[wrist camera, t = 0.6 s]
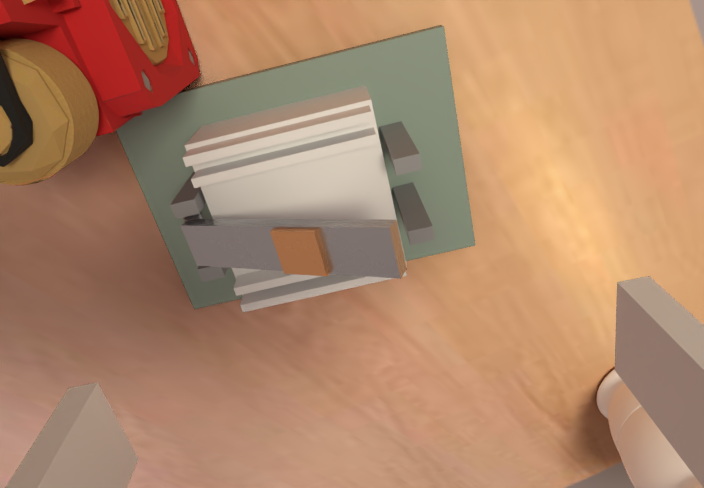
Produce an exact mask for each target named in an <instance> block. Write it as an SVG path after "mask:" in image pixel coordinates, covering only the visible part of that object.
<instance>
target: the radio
mask: <svg viewBox="0 0 704 488" xmlns="http://www.w3.org/2000/svg"><path fill="white" fill-rule="evenodd" d="M199 76H200V73H199V66H198V58H197V56H196V53H195V50H194V48H193V45H192V42H191V40H190V37H189V34H188V31H187V29H186V26H185V23H184V21H183V18H182V15H181V13H180V10H179V7H178V4H177V2H176V0H0V183H3V184H8V185H28V184H34V183H38V182H41V181H43V180H46V179H48V178H50V177H51V176H53V175H55V174H56V173H57V172H59V171H60V170H61V169H63V168H64V167H66V166H67V165H69V164H70V163H71V162H73V161H74V160H76V159H77V158H78V157H80V156H81V155H82V154H84V153H85V152H86V151H87V150H88V148H89V147H90V146H91V144H92V142H93V141H94V139H95V137H96V136H100V135H104V134H107V133H111V132H114V131H116V130H117V129H118V128H120V127H121V126H123V125H124V124H125V123H127V122H128V121H130V120H131V119H132V118H134V117H135V116H141V115H142V114H143V113H144V112H143V113H141V112H142V111H145V110H149V109H152V108H156V107H159V106H162V105H163V104H165V103H166V102H167V101H169V100H170V99H171V98H172V97H174V96H175V95H176V94H177V93H179V92H180V91H181V90H183V89H184V88H185V87H186V86H188V85H189V84H190V83H192V82H193V81H194V80H195V79H197V78H198V77H199Z"/></svg>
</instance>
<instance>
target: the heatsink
mask: <svg viewBox="0 0 704 488" xmlns="http://www.w3.org/2000/svg"><path fill="white" fill-rule="evenodd" d="M143 112H144V113H143ZM141 113H143V114H142V115H141V116H135V117H134V118H132V119H131V120H130V121H128V122H127V123H125V124H124V125H123V126H121V127H120V128H118V129H117V130H116V132H117V135H118V137H119V139H120V141H121V144H122V146H123V148H124V150H125V153H126V155H127V157H128V160H129V162H130V164H131V166H132V169H133V171H134V173H135V175H136V178H137V180H138V182H139V185H140V187H141V189H142V191H143V194H144V196H145V198H146V201H147V203H148V205H149V207H150V210H151V212H152V214H153V216H154V219H155V221H156V223H157V226H158V228H159V230H160V232H161V235H162V237H163V239H164V241H165V244H166V246H167V248H168V251H169V253H170V255H171V257H172V260H173V262H174V264H175V266H176V269H177V271H178V273H179V276H180V278H181V280H182V282H183V285H184V287H185V289H186V291H187V294H188V296H189V298H190V301H191V303H192V305H193V307H194V309H198V308H202V307H207V306H211V305H215V304H220V303H224V302H229V301H233V300H237V299H242V300H241V304H240V306H241V309H242V311H243V312H247V311H252V310H256V309H261V308H265V307H270V306H274V305H278V304H283V303H287V302H292V301H296V300H301V299H305V298H309V297H314V296H318V295H323V294H327V293H332V292H336V291H340V290H345V289H349V288H354V287H358V286H363V285H367V284H371V283H376V282H380V281H385V280H389V279H394V278H385V277H369V276H353V275H337V274H329V275H328V276H313V275H298V274H284V272H283V271H275V270H259V269H243V268H227V267H212V266H197V264H196V262H195V260H194V257H193V255H192V252H191V250H190V248H189V245H188V243H187V240H186V238H185V236H184V233H183V231H182V228H181V226H180V225H182V224H183V223H185V222H184V219H183V217H187V216H191V215H195V214H200V212H201V213H202V216H203V218H204V219H385V220H396V221H397V225H398V230H399V235H400V239H401V244H402V249H403V253H404V258H405V263H406V261H409V260H413V259H418V258H422V257H426V256H431V255H435V254H440V253H444V252H448V251H453V250H457V249H462V248H466V247H470V246H475V239H474V232H473V225H472V218H471V211H470V204H469V197H468V191H467V184H466V177H465V170H464V163H463V156H462V149H461V142H460V135H459V128H458V121H457V114H456V107H455V100H454V93H453V86H452V79H451V72H450V65H449V58H448V52H447V45H446V38H445V31H444V26H441V25H439V26H435V27H431V28H427V29H423V30H419V31H415V32H411V33H407V34H403V35H400V36H396V37H392V38H388V39H384V40H380V41H376V42H372V43H368V44H364V45H360V46H356V47H352V48H348V49H344V50H340V51H336V52H332V53H329V54H325V55H321V56H317V57H313V58H309V59H305V60H301V61H297V62H293V63H289V64H285V65H281V66H277V67H273V68H269V69H265V70H262V71H258V72H254V73H250V74H246V75H242V76H238V77H234V78H230V79H226V80H222V81H218V82H214V83H210V84H206V85H202V86H198V87H194V88H191V89H187V90H183V91H180V92H179V93H177V94H176V95H175V96H174V97H172V98H171V99H170V100H169V101H167V102H166V103H165V104H163V105H162V106H159V107H156V108H152V109H149V110H145V111H142V112H141ZM406 266H407V265H406ZM403 276H407V274H406V271H405V273H404V274H403Z"/></svg>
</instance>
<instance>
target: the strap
mask: <svg viewBox="0 0 704 488" xmlns="http://www.w3.org/2000/svg"><path fill="white" fill-rule="evenodd" d="M183 219H184V222H185V223H183V224H182V225H180V226H181V228H182V231H183V233H184V236H185V238H186V240H187V243H188V245H189V248H190V250H191V252H192V255H193V257H194V260H195V262H196V264H197V266H212V267H227V268H243V269H259V270H275V271H283V272H284V274H298V275H313V276H328V275H329V274H337V275H353V276H369V277H385V278H400V279H401V277H402V276H403V274H404V273H405V271H406V270H407V267H406V263H405V258H404V253H403V249H402V244H401V239H400V235H399V230H398V225H397V221H396V220H385V219H204V218H203V216H202V213H201V212H200V214H195V215H191V216H187V217H183Z"/></svg>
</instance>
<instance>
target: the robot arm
mask: <svg viewBox="0 0 704 488" xmlns="http://www.w3.org/2000/svg"><path fill="white" fill-rule="evenodd" d="M615 371H616V373H617V374H618V375H619V377H620V378H621V379H622V381H623V382H624V383H625V385H626V386H627V387H628V389H629V390H630V391H631V393H632V394H633V395H634V396H635V398H636V399H637V400H638V402H639V403H640V404H641V406H642V407H643V408H644V410H645V411H646V412H647V414H648V415H649V416H650V418H651V419H652V420H653V422H654V423H655V424H656V426H657V427H658V428H659V430H660V431H661V432H662V434H663V435H664V436H665V438H666V439H667V440H668V442H669V443H670V444H671V446H672V447H673V448H674V449H675V451H676V452H677V453H678V455H679V456H680V457H681V459H682V460H683V461H684V463H685V464H686V465H687V467H688V468H689V469H690V471H691V472H692V473H693V475H694V476H695V477H696V479H697V480H698V481H699V483H700V484H701V485H702V487H703V488H704V325H703V324H702V323H701V322H700V321H699V320H698V319H696V318H695V317H694V316H693V315H692V314H691V313H690V312H689V311H687V310H686V309H685V308H684V307H683V306H682V305H681V304H680V303H679V302H677V301H676V300H675V299H674V298H673V297H672V296H671V295H670V294H668V293H667V292H666V291H665V290H664V289H663V288H662V287H661V286H660V285H658V284H657V283H656V282H655V281H654V280H653V279H652V278H651V277H649V276H647V277H642V278H637V279H632V280H626V281H621V282H617V307H616V342H615ZM137 461H138V457H137V455H136V453H135V451H134V449H133V447H132V445H131V444H130V442H129V440H128V438H127V436H126V434H125V432H124V430H123V429H122V427H121V425H120V423H119V421H118V419H117V417H116V416H115V414H114V412H113V410H112V408H111V406H110V404H109V402H108V401H107V399H106V397H105V395H104V393H103V391H102V389H101V388H100V386H99V384H98V382H97V383H92V384H87V385H81V386H76V387H71V388H68V390H67V392H66V393H65V395H64V396H63V398H62V399H61V401H60V403H59V404H58V406H57V407H56V409H55V410H54V412H53V414H52V415H51V417H50V418H49V420H48V421H47V423H46V425H45V426H44V428H43V429H42V431H41V432H40V434H39V436H38V437H37V439H36V440H35V442H34V443H33V445H32V447H31V448H30V450H29V451H28V453H27V454H26V456H25V458H24V459H23V461H22V462H21V464H20V465H19V467H18V469H17V470H16V472H15V473H14V475H13V476H12V478H11V480H10V481H9V483H8V484H7V486H6V487H5V488H127V486H128V484H129V481H130V479H131V476H132V473H133V471H134V468H135V466H136V463H137Z"/></svg>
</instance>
